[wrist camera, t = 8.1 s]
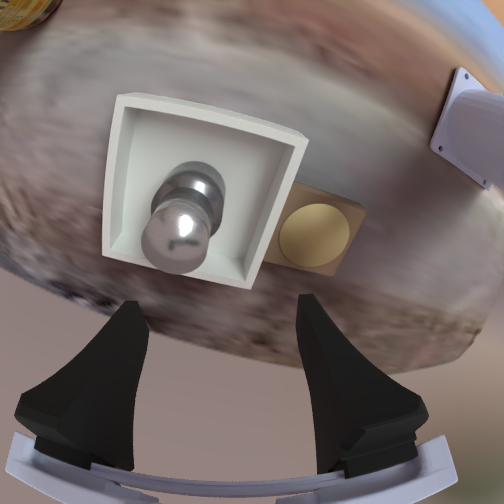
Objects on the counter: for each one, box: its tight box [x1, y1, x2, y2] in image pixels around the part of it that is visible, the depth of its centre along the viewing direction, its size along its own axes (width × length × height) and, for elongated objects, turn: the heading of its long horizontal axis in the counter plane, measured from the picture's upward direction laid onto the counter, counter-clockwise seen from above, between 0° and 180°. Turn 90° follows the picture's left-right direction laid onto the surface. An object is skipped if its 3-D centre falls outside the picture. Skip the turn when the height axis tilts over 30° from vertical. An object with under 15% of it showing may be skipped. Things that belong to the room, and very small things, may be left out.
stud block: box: [262, 181, 367, 277], centre depth 21 cm, size 6×6×2 cm
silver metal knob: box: [141, 161, 226, 274], centre depth 16 cm, size 4×4×7 cm
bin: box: [102, 92, 309, 290], centre depth 18 cm, size 11×11×3 cm
